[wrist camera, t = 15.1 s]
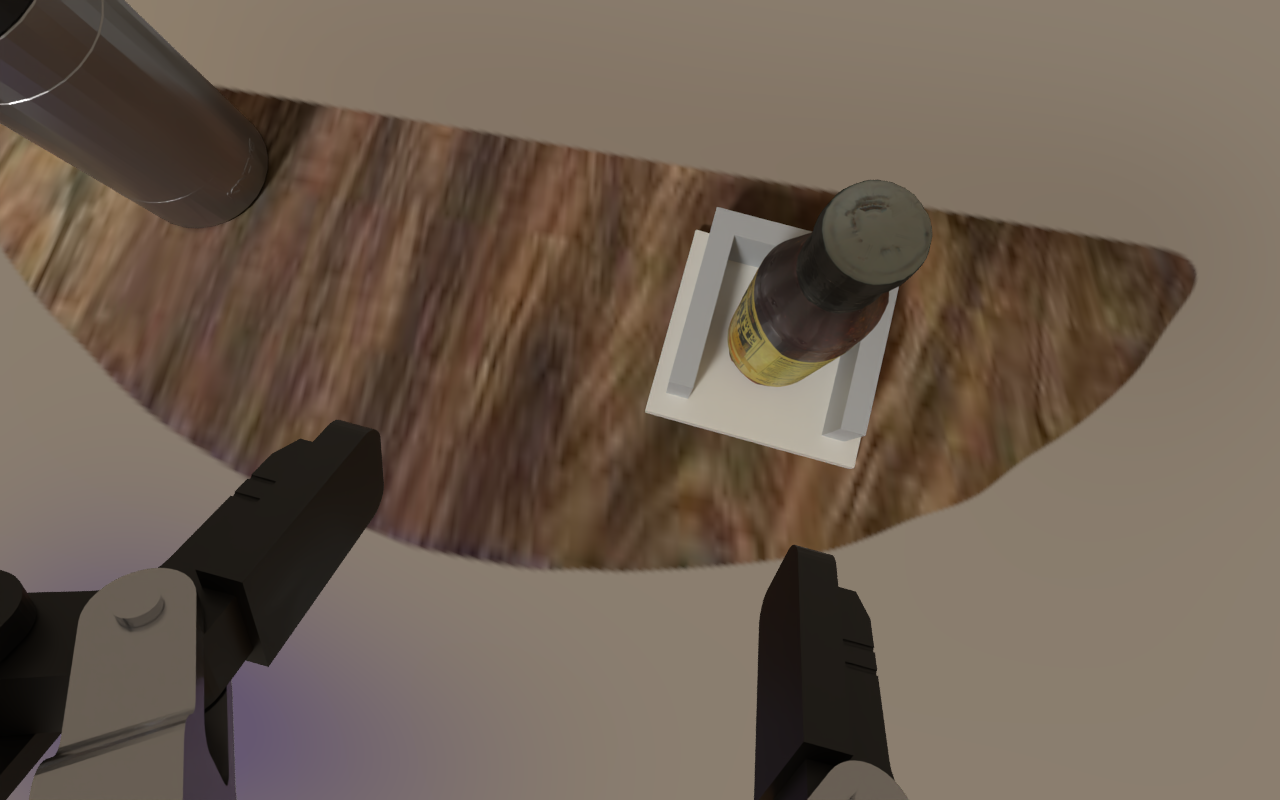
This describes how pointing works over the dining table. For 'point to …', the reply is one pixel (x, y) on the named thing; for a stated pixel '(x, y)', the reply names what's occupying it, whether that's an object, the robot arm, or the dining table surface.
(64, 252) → the dining table surface
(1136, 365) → the dining table surface
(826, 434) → the white open tray
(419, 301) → the dining table surface
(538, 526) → the dining table surface
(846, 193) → the sauce bottle
